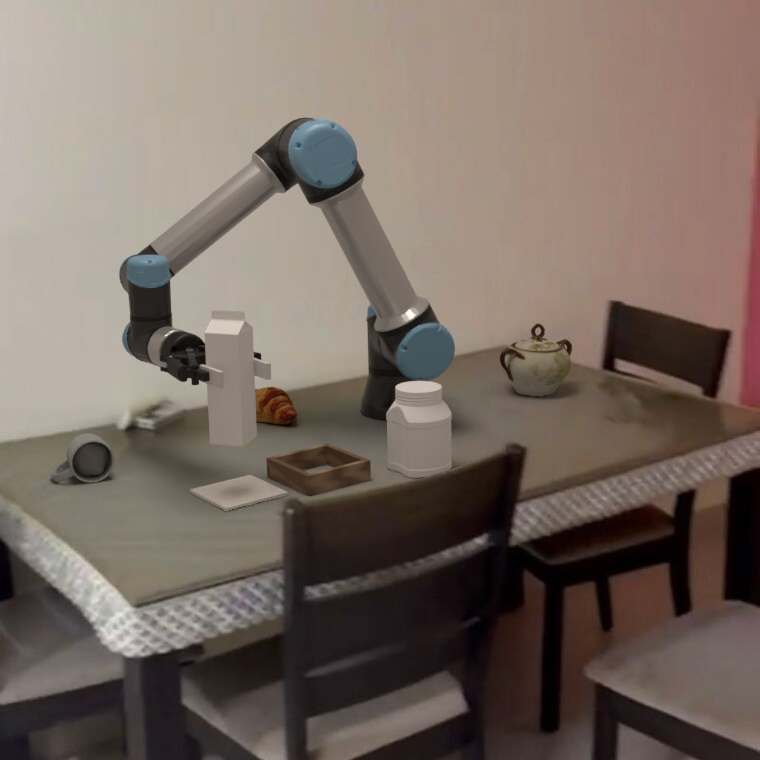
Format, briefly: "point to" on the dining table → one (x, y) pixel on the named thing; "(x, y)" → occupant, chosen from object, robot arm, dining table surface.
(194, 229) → the robot arm
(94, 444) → the ceramic mug
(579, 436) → the dining table surface
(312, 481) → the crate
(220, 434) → the milk
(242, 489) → the tile
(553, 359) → the sugar bowl
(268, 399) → the croissant
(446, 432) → the jar
